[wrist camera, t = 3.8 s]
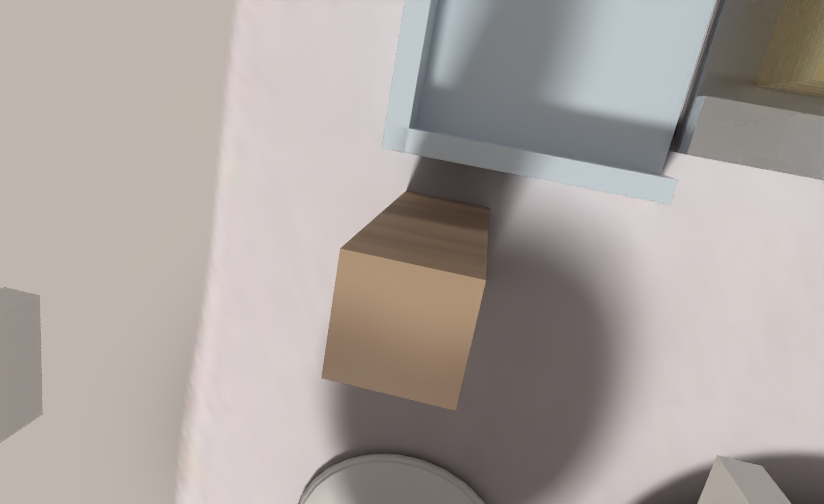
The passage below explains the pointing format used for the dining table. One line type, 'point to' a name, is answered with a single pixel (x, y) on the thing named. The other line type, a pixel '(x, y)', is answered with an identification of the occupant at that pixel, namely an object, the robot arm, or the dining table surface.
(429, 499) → the chalice
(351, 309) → the brown wooden block
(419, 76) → the tray
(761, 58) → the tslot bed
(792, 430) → the dining table surface
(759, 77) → the chip
